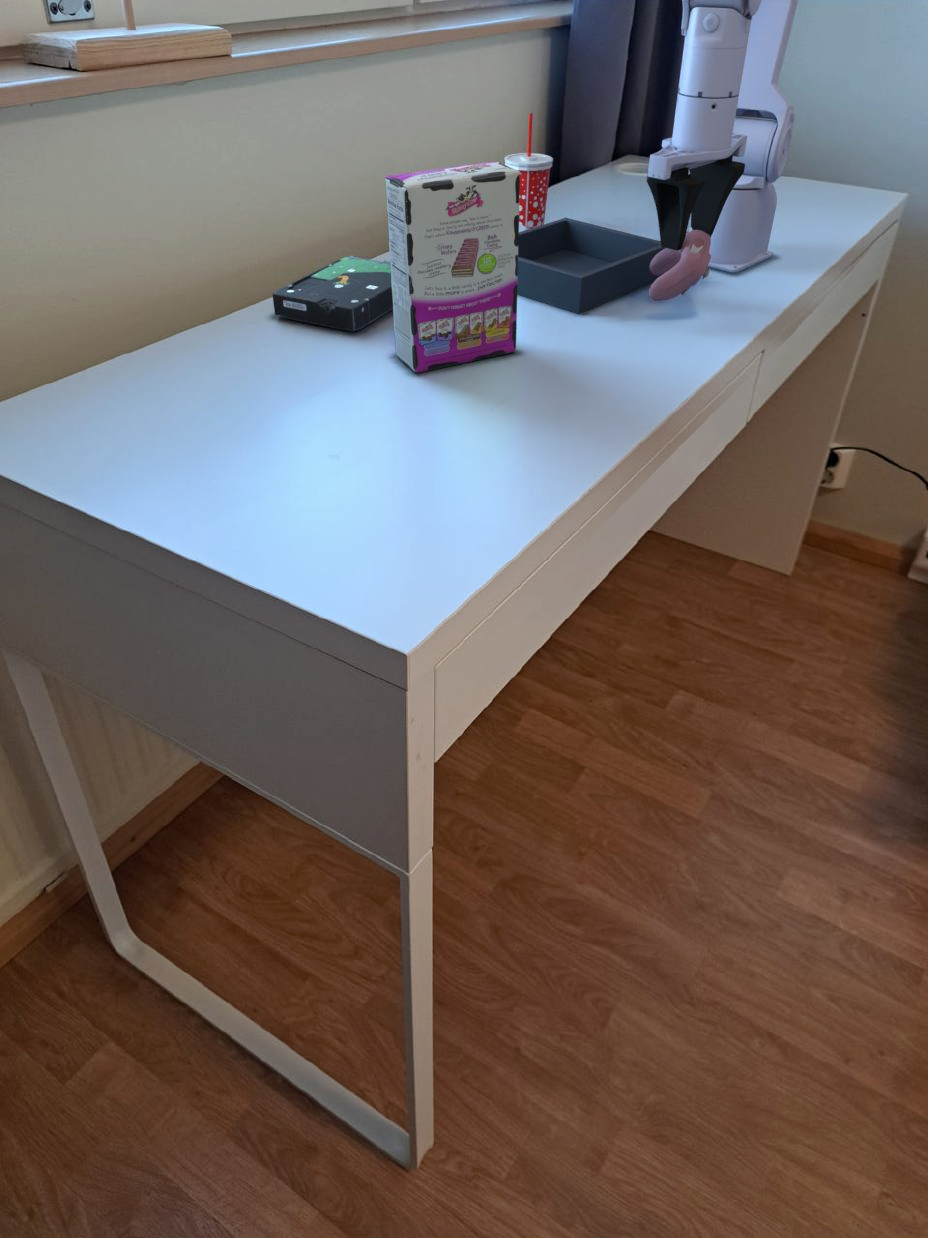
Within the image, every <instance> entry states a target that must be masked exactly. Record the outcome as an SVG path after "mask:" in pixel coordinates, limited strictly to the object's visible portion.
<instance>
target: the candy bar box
mask: <svg viewBox="0 0 928 1238" xmlns="http://www.w3.org/2000/svg"><path fill="white" fill-rule="evenodd" d="M384 183H385V184H384V185H385V198H386V202H385V203H386V212H387V213H386V214H387V231H388V247H389V249H388V251H389V261H390V263H391V284H392V297H393V308H392V313H393V314H392V315H393V326H394V328H393V329H394V330H393V331H394V345H395V356H396V357H397V358H398V360H400V361H401V362H402V363H404V364H405V365H406V366H407V367H408V369H410V370H411V371H413V372H414V373H423V372H428V371H432V370H437V369H442V368H447V367H451V366H456V365H461V364H465V363H469V362H475V361H480V360H483V359H487V358H493V357H497V356H502V355H506V354H510V353H511V354H512V353H514V352H516V351H517V324H518V323H517V319H518V314H517V313H518V294H517V283H518V239H519V193H520V171H518V170H515V169H513V168H510V167H508V166H506V165H505V163H504V164H503V163H502V162H499V161H489V162H480V163H473V164H464V165H456V166H450V167H441V168H436V169H428V170H421V171H413V172H407V173H400V174H399V173H398V174H391V175H386V176H384Z"/></svg>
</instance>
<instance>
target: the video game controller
mask: <svg viewBox="0 0 928 1238" xmlns="http://www.w3.org/2000/svg"><path fill="white" fill-rule="evenodd" d="M710 245H711V238H710V236H709V235H708V234H707V233H705V232H703V231H701V230H693V229H692V227H691V226H690V228H689V230H688V231H687V232H686V236H685V240H684V243H683V245H682V248H681V249H680V250H672V249H668V248H665V249H663V250H662V251H660V252H659V253H658V254H656V255H655V257H654V258H653V259H652V260H651V262H650V266H649V269H650V271H651V273H652V274H653V275H661V276H660V277H658V278H657V279H656V280H655V281H654V282H653V283H652V284H650V285H649V290H648V295H649V298H650V300H652V301H653V302H664V301H668V300H669V301H671V300H672V299H675V298H676V297H678V296H680V295H682V296H683V295H685V294H686V293H687V292H688V291H689V290H690V289H691V287H693V286H696V284H697V283H698V282H699V281H700V279H701V278H702V280H704V279H705V280H706V278H708V276H709V275H710V273H711V267H708V264H709V262H710V259H711V255H710V254H709V250H710Z"/></svg>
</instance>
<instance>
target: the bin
mask: <svg viewBox="0 0 928 1238" xmlns="http://www.w3.org/2000/svg"><path fill="white" fill-rule="evenodd" d="M663 249H665V248H664V247H661V241H660V240H658V239H653V238H650V237H645V236H641V235H637V234H633V233H629V232H625V231H621V230H618V229H613V228H609V227H606V226H601V225H598V224H593V223H589V222H585V221H580V220H576V219H573V218H569V217H563V218H561V219H557V220H553V221H550V222H548V223H544V225H541V226H538V227H535V228H531V229H528V230H525V231H522V232H519V239H518V283H517V296H518V295H519V296H522V297H525V298H527V299H531V300H534V301H537V302H539V303H540V302H541V303H544V304H547V305H549V306H553V307H556V308H560V309H562V310H565V311H568V312H572V313H575V314H578V315H580V314H582V313H585V312H587V311H589V310H592V309H594V308H596V307H599V306H602V305H603V304H607V303H609V302H611V301H614V300H616V299H618V298H621V297H624V296H625V295H628V294H631V293H633V292H635V291H638V290H640V289H642V288H645V287H647V286H651V285H652V284H653V282H654V281H655V280H656V279H657V278H658V277H660V276H661V275H653V274H652V273H651V271H650V269H649V266H650V262H651V260H652V259H653V258H654V257H655V255H656V254H658V253H659V252H660V251H662V250H663Z"/></svg>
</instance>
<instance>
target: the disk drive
mask: <svg viewBox="0 0 928 1238" xmlns="http://www.w3.org/2000/svg"><path fill="white" fill-rule="evenodd" d="M271 294H272V302H273V303H272V304H273V309H274V315H275V316H280V317H281V318H286V319H290V320H294V321H299V322H304V323H308V324H314V325H318V326H322V327H323V326H324V327H328V328H332V329H338V330H343V331H344V330H345V331H349V332H354V331H355V332H356V331H359V330H361V329H363V328H364V327H366V326H368V325H369V324H371V323H372V322H374V321H376V320H377V319H379V318H380V317H382V316H383V315H385V314H387V313H389V312H390V311H392V310H393V297H392V284H391V263H390V260H385V259H384V260H383V261H382V260H374V259H368V258H362V257H356V255H349V256H348V257H347V256H345V257H342V258H341V259H339V258H338V259H337V260H334V261H332V262H331V263H329V264H328V265H325V266H323V267H321V268H318V269H317V270H315V271H313V272H311V273H309V274H308V275H305V276H303V277H301V278H299V279H297V280H294V281H293V282H291V283H288V285H286V286H283V287H281V288H279V289H277V290H276V291H275V292H272V293H271Z"/></svg>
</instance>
